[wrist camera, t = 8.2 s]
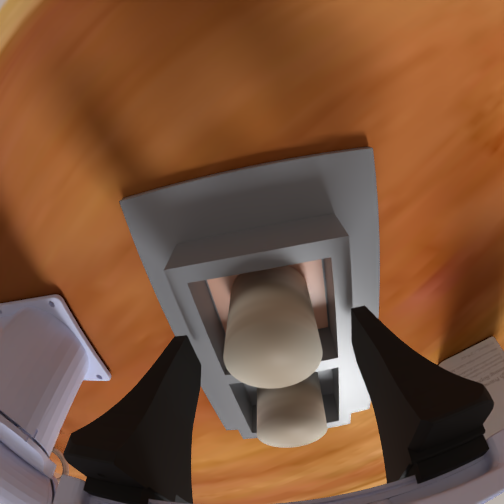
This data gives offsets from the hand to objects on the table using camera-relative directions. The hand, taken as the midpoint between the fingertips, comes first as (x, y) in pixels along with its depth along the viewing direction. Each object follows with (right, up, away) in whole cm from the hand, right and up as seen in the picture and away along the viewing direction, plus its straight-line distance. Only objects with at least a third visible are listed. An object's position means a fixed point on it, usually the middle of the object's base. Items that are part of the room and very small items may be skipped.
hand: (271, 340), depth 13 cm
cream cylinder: (0, +2, +3) cm, 3 cm away
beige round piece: (+1, -4, +6) cm, 8 cm away
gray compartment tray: (+1, -1, +5) cm, 5 cm away
